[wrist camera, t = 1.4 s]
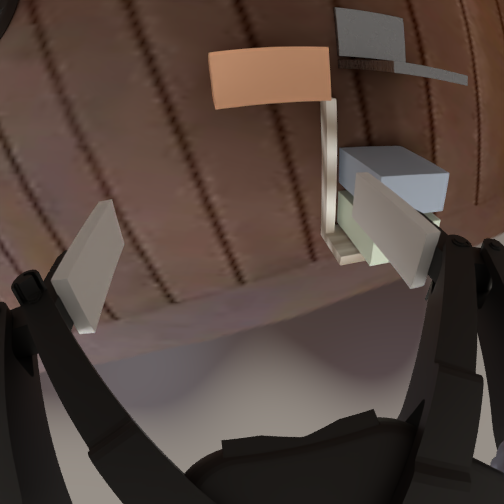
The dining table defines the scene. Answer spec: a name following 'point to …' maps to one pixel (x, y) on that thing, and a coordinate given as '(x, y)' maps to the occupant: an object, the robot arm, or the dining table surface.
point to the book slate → (396, 174)
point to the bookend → (379, 45)
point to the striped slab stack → (333, 189)
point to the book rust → (269, 76)
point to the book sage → (358, 234)
